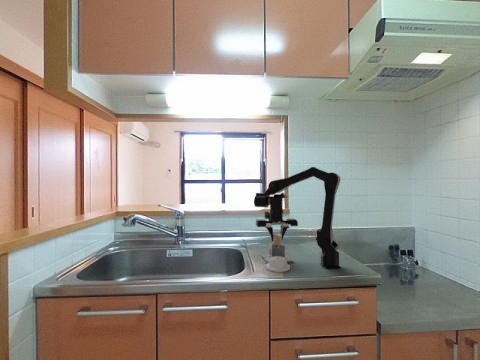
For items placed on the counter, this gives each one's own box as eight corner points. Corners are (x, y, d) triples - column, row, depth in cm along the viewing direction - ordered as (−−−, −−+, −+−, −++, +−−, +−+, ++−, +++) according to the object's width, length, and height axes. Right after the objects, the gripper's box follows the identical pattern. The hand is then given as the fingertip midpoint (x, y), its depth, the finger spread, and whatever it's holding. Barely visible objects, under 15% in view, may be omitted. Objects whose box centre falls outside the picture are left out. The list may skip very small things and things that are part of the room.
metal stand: (286, 255, 133) (285, 241, 133) (293, 262, 121) (293, 246, 121) (261, 256, 132) (261, 242, 132) (266, 263, 120) (266, 247, 120)
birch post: (279, 254, 128) (279, 233, 129) (281, 257, 125) (281, 235, 125) (271, 255, 128) (271, 233, 128) (273, 257, 124) (273, 235, 124)
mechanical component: (266, 264, 119) (265, 272, 109) (266, 254, 119) (265, 261, 110) (289, 265, 118) (290, 273, 108) (289, 255, 118) (290, 261, 108)
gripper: (291, 205, 136) (291, 237, 135) (253, 206, 134) (254, 238, 134) (298, 207, 125) (298, 242, 124) (257, 208, 123) (257, 243, 122)
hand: (276, 241), depth 126 cm, fingers closed on birch post, 4 cm apart
